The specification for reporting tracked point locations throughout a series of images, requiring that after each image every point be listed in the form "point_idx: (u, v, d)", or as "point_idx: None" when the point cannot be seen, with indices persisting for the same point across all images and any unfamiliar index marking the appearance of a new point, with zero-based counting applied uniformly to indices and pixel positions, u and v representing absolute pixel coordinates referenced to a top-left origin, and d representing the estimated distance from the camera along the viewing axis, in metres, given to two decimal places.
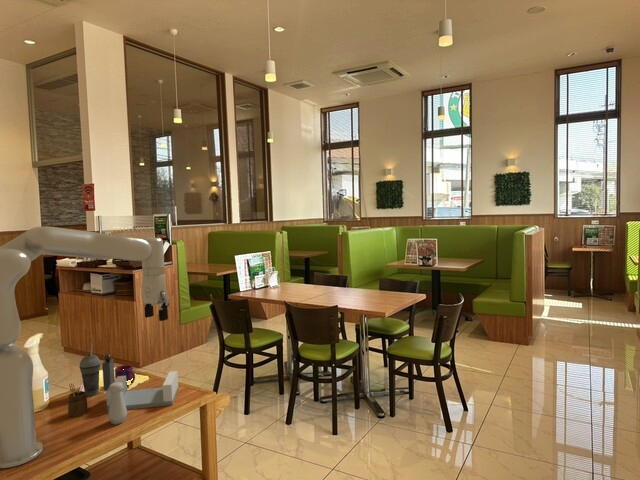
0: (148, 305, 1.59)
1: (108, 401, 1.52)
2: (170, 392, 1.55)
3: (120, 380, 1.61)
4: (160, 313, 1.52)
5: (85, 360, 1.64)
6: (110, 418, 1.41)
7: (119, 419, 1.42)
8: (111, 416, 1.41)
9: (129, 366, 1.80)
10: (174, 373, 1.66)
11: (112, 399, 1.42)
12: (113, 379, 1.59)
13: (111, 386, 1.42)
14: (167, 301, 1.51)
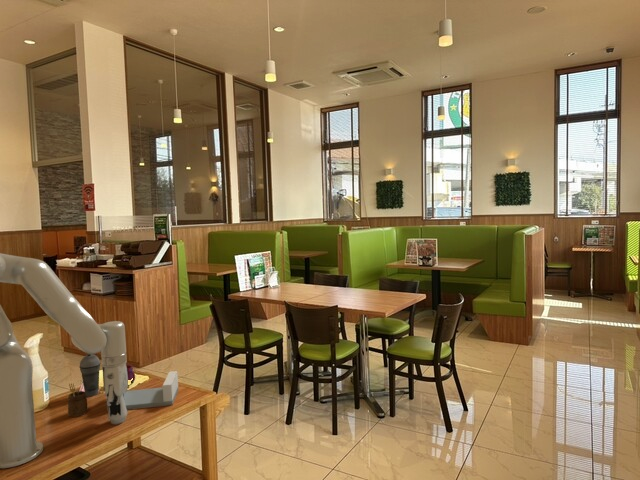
0: None
1: None
2: (170, 392, 1.55)
3: None
4: None
5: (85, 360, 1.64)
6: (110, 418, 1.41)
7: (119, 419, 1.42)
8: (111, 416, 1.41)
9: (129, 366, 1.80)
10: (174, 373, 1.66)
11: None
12: None
13: None
14: None
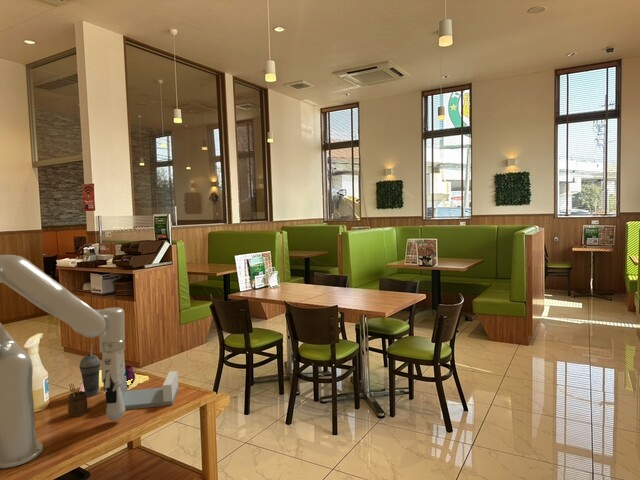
0: None
1: None
2: (170, 392, 1.55)
3: None
4: None
5: (85, 360, 1.64)
6: (107, 414, 1.41)
7: (117, 415, 1.41)
8: (108, 412, 1.40)
9: (129, 366, 1.80)
10: (174, 373, 1.66)
11: None
12: None
13: None
14: None
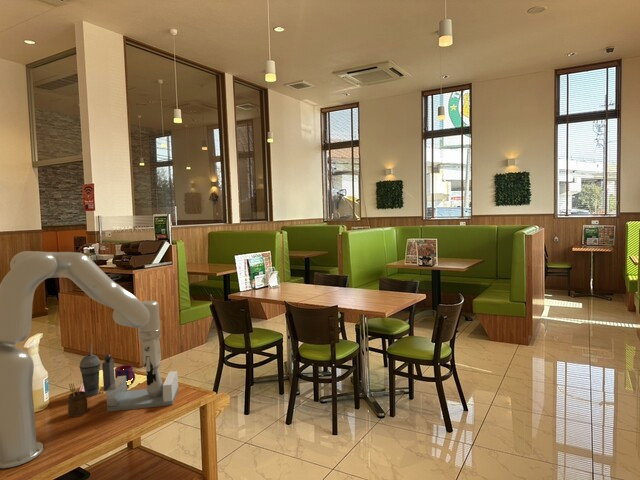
0: None
1: (108, 401, 1.52)
2: (170, 392, 1.55)
3: (120, 380, 1.61)
4: None
5: (85, 360, 1.64)
6: (148, 391, 1.59)
7: (157, 392, 1.59)
8: (149, 389, 1.59)
9: (129, 366, 1.80)
10: (174, 373, 1.66)
11: None
12: (113, 379, 1.59)
13: None
14: None
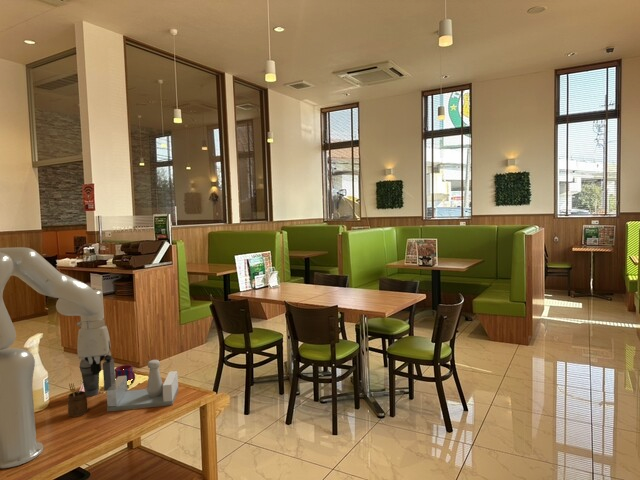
0: (94, 362, 1.57)
1: (108, 401, 1.52)
2: (170, 392, 1.55)
3: (120, 380, 1.61)
4: (97, 367, 1.56)
5: (85, 360, 1.64)
6: (148, 391, 1.59)
7: (157, 392, 1.59)
8: (149, 389, 1.59)
9: (129, 366, 1.80)
10: (174, 373, 1.66)
11: (150, 374, 1.59)
12: (113, 379, 1.59)
13: (149, 363, 1.59)
14: None
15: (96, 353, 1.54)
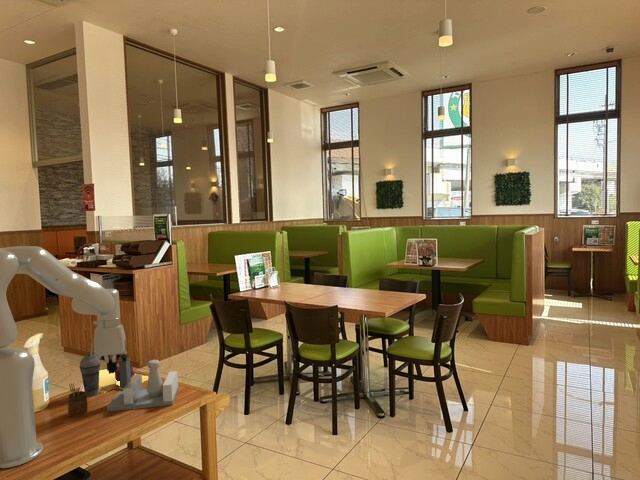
0: (110, 360, 1.58)
1: (125, 399, 1.53)
2: (170, 392, 1.55)
3: (136, 379, 1.62)
4: (113, 365, 1.57)
5: (85, 360, 1.64)
6: (148, 391, 1.59)
7: (157, 392, 1.59)
8: (149, 389, 1.59)
9: None
10: (174, 373, 1.66)
11: (150, 374, 1.59)
12: (129, 378, 1.60)
13: (149, 363, 1.59)
14: None
15: (112, 352, 1.55)
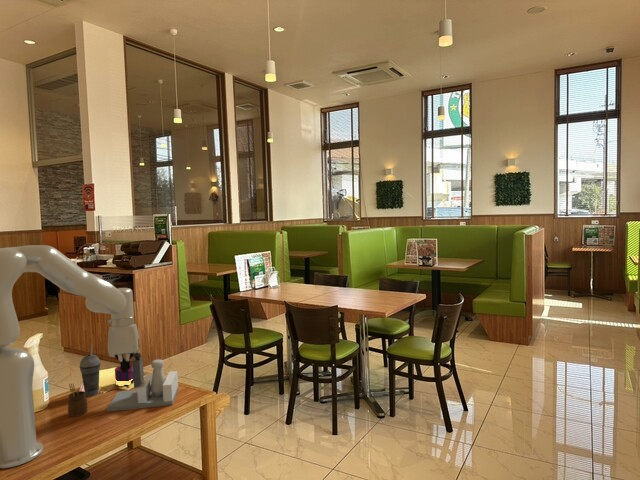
0: (124, 359, 1.58)
1: (139, 398, 1.53)
2: (170, 392, 1.55)
3: (149, 377, 1.63)
4: (126, 364, 1.58)
5: (85, 360, 1.64)
6: (152, 391, 1.59)
7: (160, 392, 1.59)
8: (153, 389, 1.59)
9: None
10: (174, 373, 1.66)
11: (154, 374, 1.59)
12: (142, 376, 1.61)
13: (153, 362, 1.59)
14: None
15: (126, 350, 1.56)
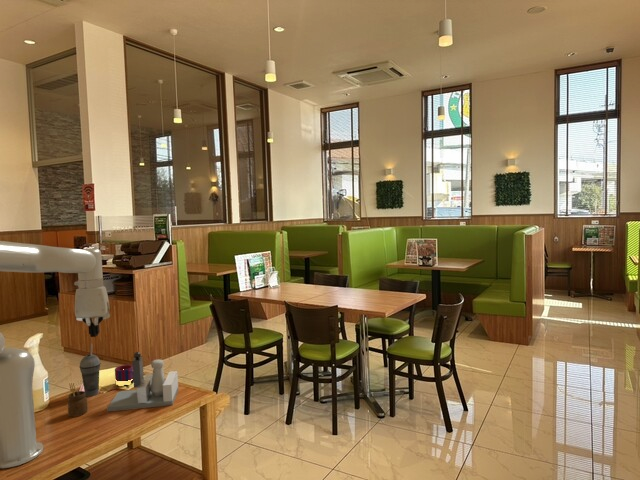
0: (92, 324, 1.50)
1: (139, 398, 1.53)
2: (170, 392, 1.55)
3: (149, 377, 1.63)
4: (95, 329, 1.50)
5: (85, 360, 1.64)
6: (152, 391, 1.59)
7: (160, 392, 1.59)
8: (153, 389, 1.59)
9: (129, 366, 1.80)
10: (174, 373, 1.66)
11: (154, 374, 1.59)
12: (142, 376, 1.61)
13: (153, 362, 1.59)
14: (106, 318, 1.51)
15: (94, 314, 1.48)
